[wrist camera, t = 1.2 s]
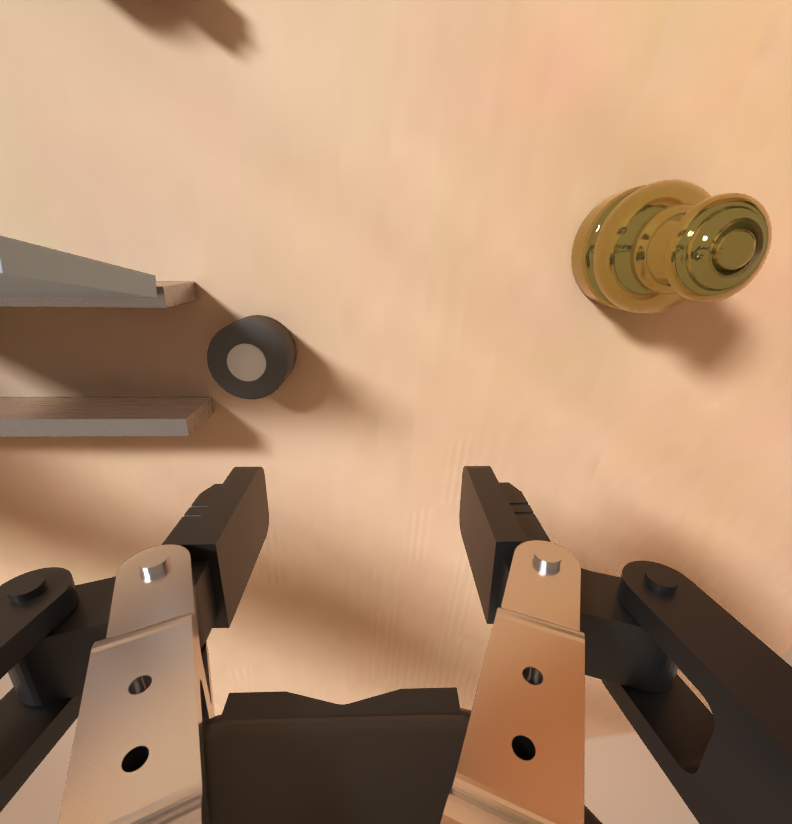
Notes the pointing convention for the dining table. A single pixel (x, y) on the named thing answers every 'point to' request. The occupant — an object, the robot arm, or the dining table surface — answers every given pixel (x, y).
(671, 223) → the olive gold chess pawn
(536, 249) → the dining table surface
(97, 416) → the grey rectangular box
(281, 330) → the dark grey tape roll
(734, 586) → the dining table surface
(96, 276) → the cover
